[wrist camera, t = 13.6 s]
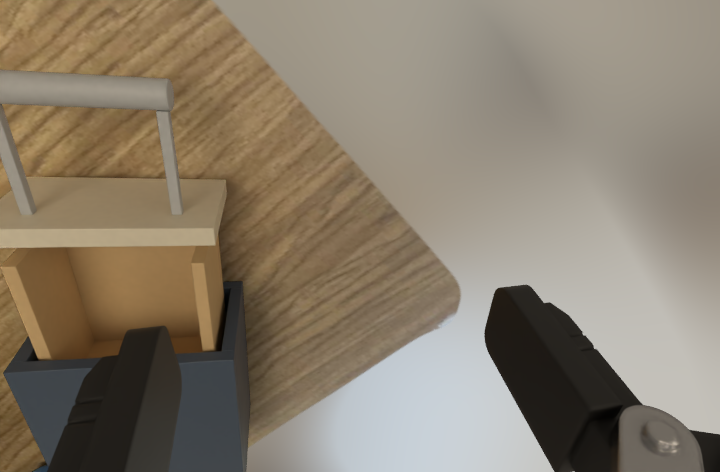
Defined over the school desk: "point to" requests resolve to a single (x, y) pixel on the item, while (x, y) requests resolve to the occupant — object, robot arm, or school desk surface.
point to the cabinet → (197, 405)
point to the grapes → (42, 469)
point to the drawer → (109, 234)
